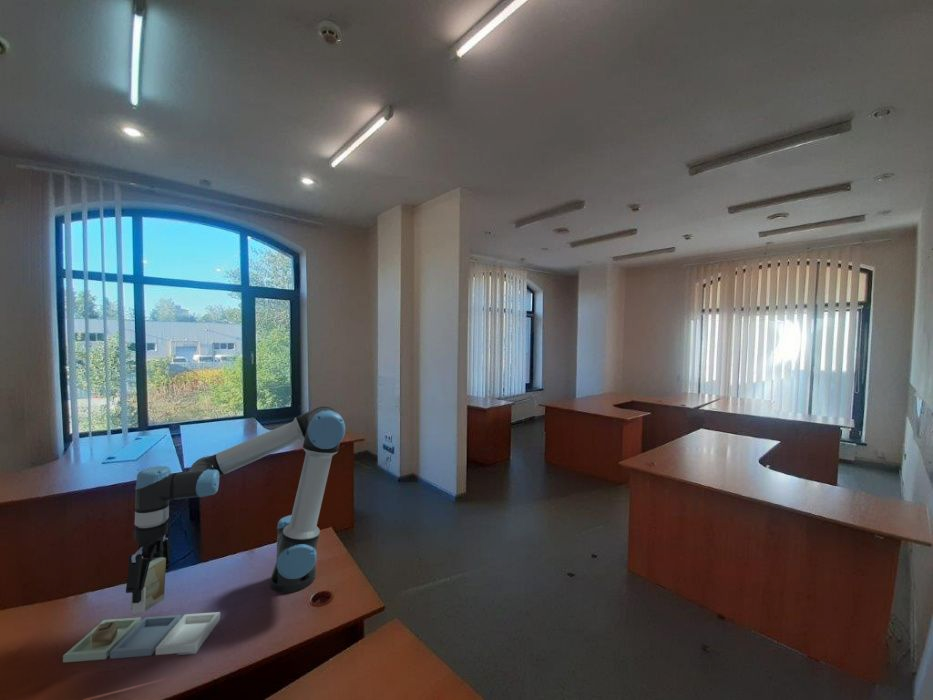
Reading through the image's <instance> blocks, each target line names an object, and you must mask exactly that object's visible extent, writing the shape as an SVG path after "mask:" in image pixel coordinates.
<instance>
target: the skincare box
mask: <svg viewBox="0 0 933 700" xmlns="http://www.w3.org/2000/svg"><path fill="white" fill-rule="evenodd" d="M165 569H166V558H163V557H156V558H153V560H152V561H151V562H150V564H149V568H148V572H147V576H146V580H145V584H144V587H146V599H145V611H144V612H143V613H145V612H147V611H148V610H149V609H151V608H153V607H155V606H156V605H158V604H159V603H160V602H162V601H164V600H165V588H166V587H165V583H166V570H165ZM132 596H133V593H131V597H132ZM132 605H133V603H132V600H131V605H130V610H131V611H132Z"/></svg>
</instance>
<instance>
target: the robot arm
mask: <svg viewBox="0 0 933 700" xmlns="http://www.w3.org/2000/svg"><path fill="white" fill-rule="evenodd" d="M345 434H346V424H345V420H344V418H343V417H342V415H340V414H339V413H338V412H337V410H335V409H333V408H332V407H329V406H318V407H316V408H313V409H311V410H308V411H307V412H305V413H303V414H301V415H298V416H296V417H294V418H293V421H291V422H289V423H286V424H284V425H281V426H278V427H277V428H274V429H272V430H269V431H266V432H265V433H262V434H260V435H258V436H256V437H253V438H250V439H248V440H245V441H243V442H241V443H239V444H236V445H234V446H232V447H230V448H225V449H224V450H221V451H220V452H217V453H216V454H212V455H210V456H203V457H200V458H198V459H196V461H195V462H193V464H192V465H191V467H190V468H189V469H188V471H186V472H172V471H171V468H170V466H167V465H163V466H162V465H158V466H157V465H156V466H151V467H147V468H143V469H141V470H140V471H139V472H138V473H137V475H136V482H135V483H136V484H135V486H134V487H135V488H134V489H135V498H134V499H135V503H134V506H135V507H134V508H135V509H134V528H133V539H134V541H135V542H137V543H138V544H137V548H136V552H135V553H134V554H129V556H127V557H128V558H127V560H128V569H127V571H128V572H127V579H126V587H125V593H126V594H132V593H133V596H132V595H131V601H132V603H133V605H132V610H131V612H132V613H131V614H143V613H145V612H146V611H145V599H146V587H144V584H145V580H146V576H147V572H148V568H149V564H150V562H151V561H152V560H153V558H156V557H163V558H166V569H165V571H168V570H169V569H170V564H171V543H170V542H171V534H172V533H171V532H170V531H169V520H168V519H169V518H170V515H169V514H170V501H175V500H176V501H177V500H184V499H192V498H193V499H194V498H195V499H196V498H205V497H208V496H213V495H215V494H217V492H218V491H219V485H220V477H222V476H224V475H226V474H228V473H231V472H233V471H235V470H237V469H239V468H242V467H244V466H247V465H249V464H251V463H253V462H255V461H257V460H260V459H263V458H264V457H266V456H269V455H271V454H274V453H276V452H278V451H280V450H283V449H285V448H287V447H290V446H292V445H294V444H297V443H299V442H303V444H302V449H303V451H304V452H305V455H304V459H303V460H304V461H303V465H302V469H301V472H300V473H301V474H300V477H299V482H298V487H297V490H296V495H295V499H294V503H293V507H292V510H291V511H292V513H291V514H289V515H287V516H284V517H281V518H280V519H279V520H278V522H277V527H276V530H277V531H276V532H277V534H276V535H277V537H276V562H275V565H274V568H273V570H272V573H271V577H270V581H269V583H270V585H269V586H270V588H271V590H273V592H276V593H280V594H281V593H282V594H286V593H288V594H289V593H294V592H299V591H300V590H303V589H305V588H307V587H308V586H310V585H311V584H312V583H314V581H313V580H315V579H316V577H317V568H316V566H315V565H316V563H317V559H318V552H317V547H318V542H319V538H320V534H321V533H320V531H321V530H320V528H319V527H318V526H317V525H318V523H319V517H320V513H321V509H322V504H323V499H324V495H325V490H326V485H327V482H328V477H329V474H330V472H329V471H330V468H331V463H332V459H333V456H334V455H336V454H337V453H338V452H339V450H340V444H341V442H342V440H343V439H344V437H345ZM168 531H169V532H168ZM315 576H316V577H315ZM144 611H145V612H144Z"/></svg>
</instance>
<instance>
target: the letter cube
mask: <svg viewBox="0 0 933 700" xmlns="http://www.w3.org/2000/svg"><path fill="white" fill-rule="evenodd" d="M99 624H100V623H99ZM99 624H98V625H99ZM98 625H97V626H98ZM97 626H96V627H97ZM117 629H118V621H114V622H109V623H104V624H100V625H99V626H98V627H97V629H96V630H95V631H94V633H93V634H92V649H93V648H98V647H102V646H107V645H110V644H111V643H112V642H113V640H114V639H115V637H116V636H117Z"/></svg>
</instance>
